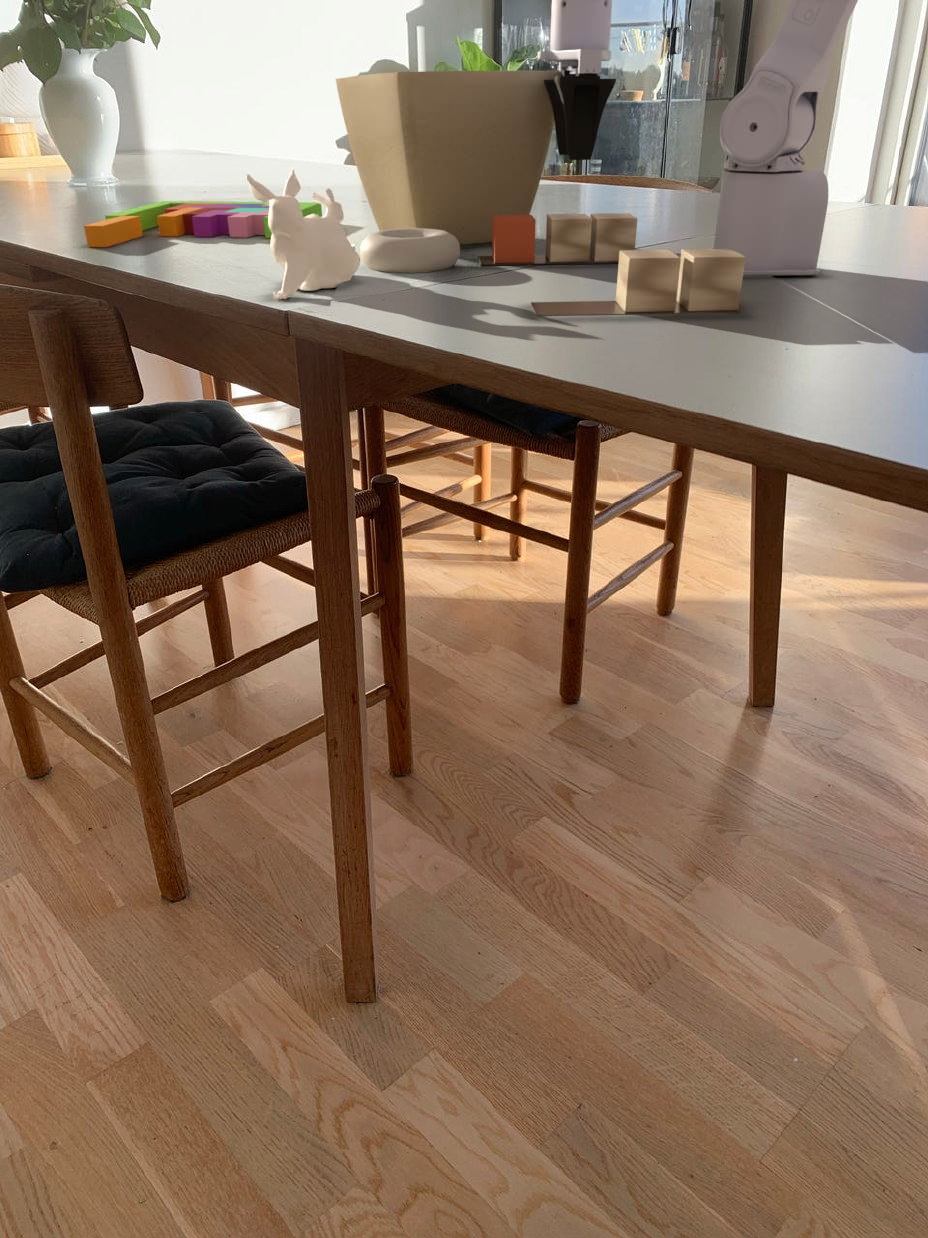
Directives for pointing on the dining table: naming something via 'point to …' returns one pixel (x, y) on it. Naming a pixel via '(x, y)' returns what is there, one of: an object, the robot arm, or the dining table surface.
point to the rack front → (665, 285)
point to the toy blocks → (187, 220)
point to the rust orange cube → (513, 238)
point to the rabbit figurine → (307, 240)
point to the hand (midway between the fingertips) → (574, 156)
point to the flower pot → (448, 146)
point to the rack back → (582, 240)
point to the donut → (410, 250)
